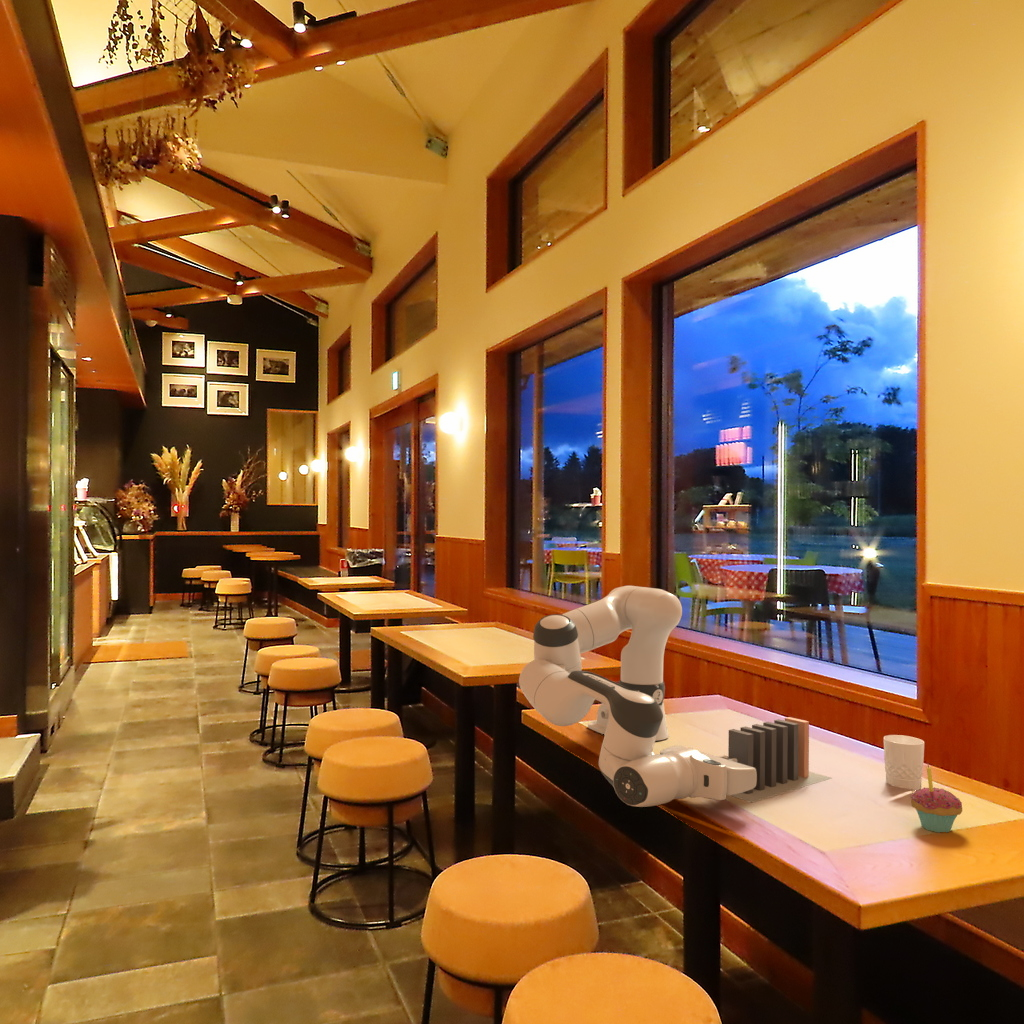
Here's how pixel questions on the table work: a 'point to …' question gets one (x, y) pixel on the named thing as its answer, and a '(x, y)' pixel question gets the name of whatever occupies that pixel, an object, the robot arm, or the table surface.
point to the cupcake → (936, 807)
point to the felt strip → (782, 787)
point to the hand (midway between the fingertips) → (731, 761)
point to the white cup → (904, 761)
